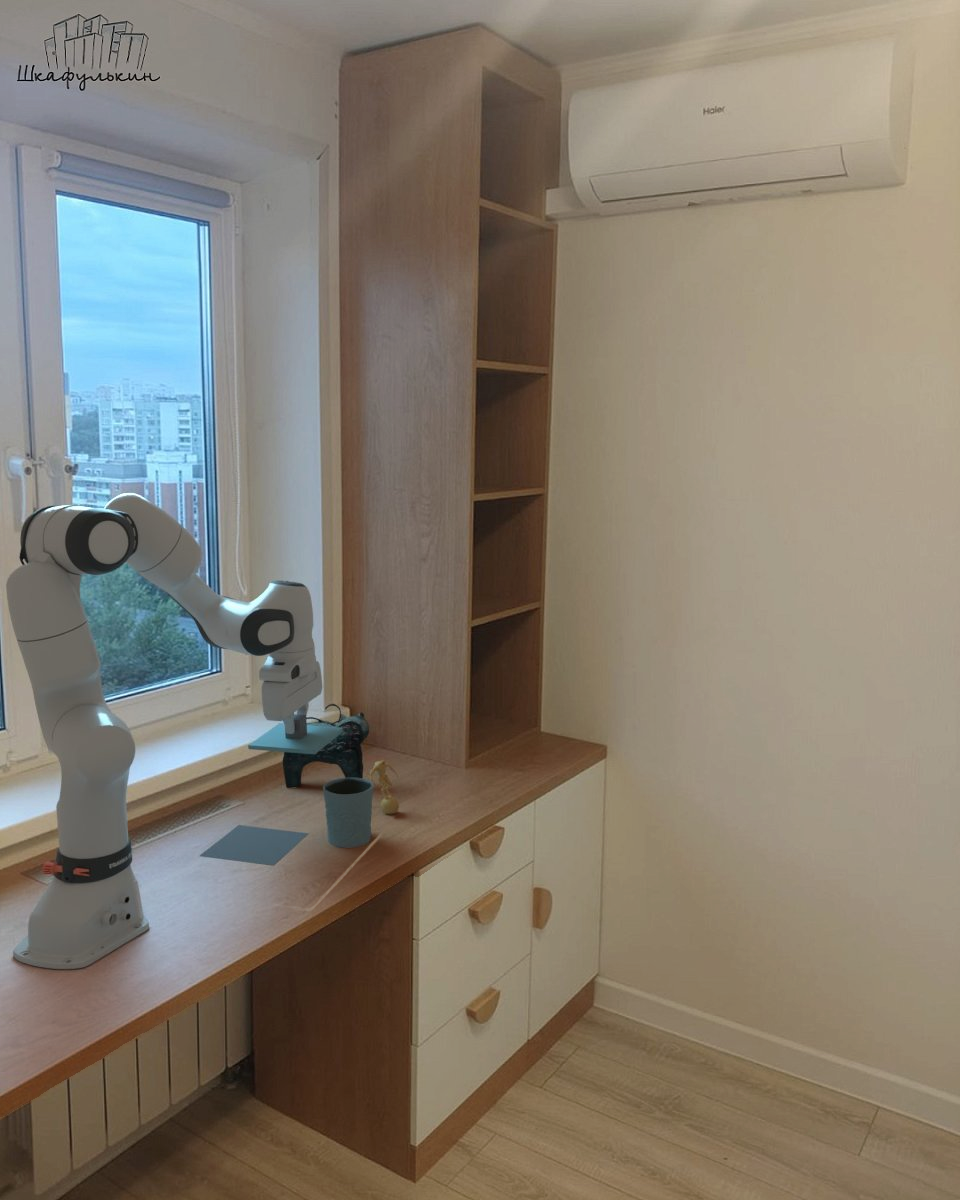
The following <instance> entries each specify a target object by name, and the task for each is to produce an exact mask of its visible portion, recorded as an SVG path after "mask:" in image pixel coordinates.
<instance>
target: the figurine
mask: <svg viewBox="0 0 960 1200" xmlns="http://www.w3.org/2000/svg"><path fill="white" fill-rule="evenodd" d="M387 768H389V769H390V770H391V771H392V772H393V773H394V774H395V775H396V778H399V776H398V773H397V772H396V771H395V769H394V768H393V767H392V766H391V765H390V764H389V763H386V761H385V759H382V760H377V761H375V762H374V764H373V768H372V769H371V770H370V772H369V781H371V782H372V783H373V788H374V787H375V784H374V782H373V773H375V772H376V773H377V775H378V778H377V782H379V784H380V786H381V787H382V788H381V794H382V795H383V799H382V800H381V801H380V810H381V812H382V813H383V814H385V815H386V816H387V815H388V816H391V815H395V814H396V813H397V812H398V810H399V807H400V803H399V801H398V799H397V798H396V797H394V795H393V794H392V793H391V792H390V791H389V790H390V789H391V787H392V785H393V782H391V780H390V778H389V776H388V774H386V770H387ZM385 790H386V792H387V794H386V793H385ZM387 795H388V796H387Z"/></svg>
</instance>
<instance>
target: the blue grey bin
mask: <svg viewBox="0 0 960 1200" xmlns="http://www.w3.org/2000/svg"><path fill="white" fill-rule="evenodd" d="M373 783H374V782H373V781H372V782H371V781H370V779H366V778H363V779H362V778H345V777H343V778H342V777H340V778H336V779H333V780H330V781H327V782H326V783H324V784H323V787H322V789H323V790H322V791H323V796H324V798H323V799H324V802H325V805H324V806H325V818H326V826H327V827H326V830H327V840H328V841H327V842H328V844H330V845H332V846H334V847H337V848H348V849H351V848H358V847H361V846H364V845H366V844H368V843H369V842H370V841H371V839H372V838H371V837H372V813H373V812H372V809H373V796H374V787H373V786H374V784H373Z"/></svg>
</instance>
